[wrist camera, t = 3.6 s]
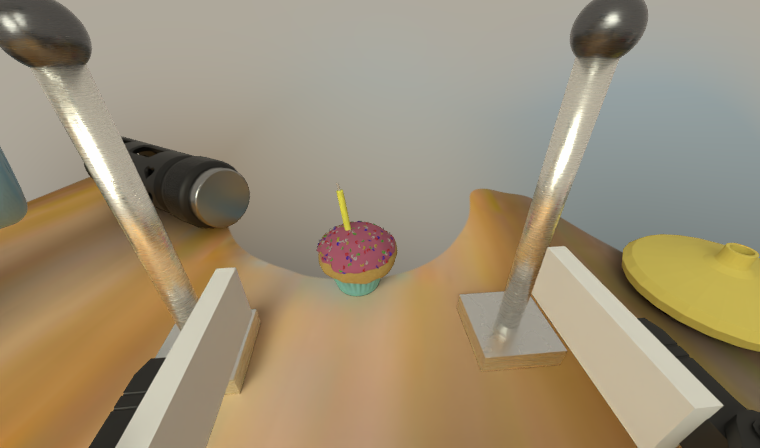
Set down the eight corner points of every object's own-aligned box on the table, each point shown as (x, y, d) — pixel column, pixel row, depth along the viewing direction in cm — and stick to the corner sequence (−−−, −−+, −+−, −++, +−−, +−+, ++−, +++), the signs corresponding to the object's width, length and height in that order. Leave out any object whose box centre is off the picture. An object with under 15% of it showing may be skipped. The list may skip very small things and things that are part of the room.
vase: (674, 246, 40) (704, 199, 37) (857, 345, 28) (934, 290, 24) (579, 269, 37) (602, 220, 33) (741, 396, 24) (809, 341, 20)
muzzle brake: (158, 181, 59) (134, 127, 53) (261, 217, 47) (245, 153, 42) (101, 202, 52) (67, 142, 46) (206, 251, 40) (177, 179, 35)
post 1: (148, 401, 24) (-199, -22, 10) (188, 328, 30) (7, -4, 15) (239, 393, 24) (37, -22, 10) (260, 322, 30) (151, -4, 16)
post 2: (481, 371, 26) (602, -20, 12) (456, 308, 32) (516, -4, 17) (559, 364, 26) (768, -19, 12) (521, 303, 32) (631, -4, 18)
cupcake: (306, 289, 34) (287, 194, 27) (351, 249, 40) (345, 163, 33) (370, 322, 30) (366, 221, 24) (409, 272, 36) (415, 181, 30)
